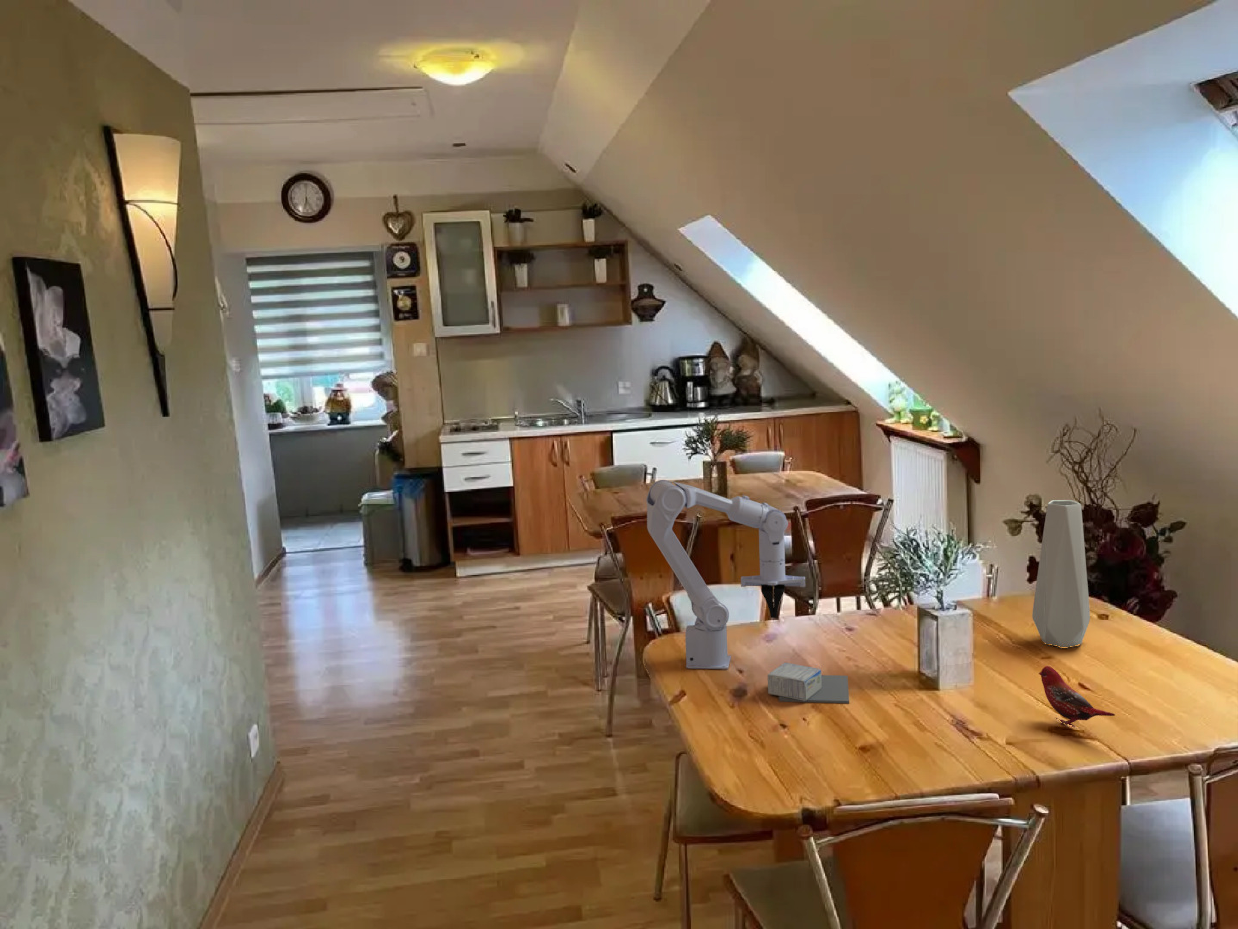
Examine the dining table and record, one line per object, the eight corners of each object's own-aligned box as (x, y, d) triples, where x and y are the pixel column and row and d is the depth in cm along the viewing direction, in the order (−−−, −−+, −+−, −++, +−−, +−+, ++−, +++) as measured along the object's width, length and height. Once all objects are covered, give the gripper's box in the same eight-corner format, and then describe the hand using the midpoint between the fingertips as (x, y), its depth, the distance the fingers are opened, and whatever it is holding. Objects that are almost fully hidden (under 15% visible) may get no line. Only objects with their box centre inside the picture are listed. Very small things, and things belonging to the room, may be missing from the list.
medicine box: (767, 693, 199) (805, 702, 194) (766, 673, 199) (805, 681, 193) (784, 681, 206) (822, 689, 200) (784, 661, 205) (821, 668, 200)
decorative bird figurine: (1044, 710, 185) (1044, 661, 184) (1120, 746, 169) (1121, 692, 167) (1032, 713, 184) (1032, 663, 183) (1108, 750, 168) (1109, 695, 166)
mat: (778, 701, 196) (778, 699, 196) (781, 676, 210) (781, 674, 210) (849, 703, 193) (849, 701, 193) (847, 677, 207) (847, 675, 207)
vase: (1038, 631, 229) (1039, 496, 225) (1091, 639, 223) (1094, 499, 218) (1025, 647, 220) (1027, 505, 215) (1081, 655, 213) (1083, 509, 208)
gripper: (738, 563, 217) (740, 621, 219) (804, 563, 214) (805, 622, 216) (741, 555, 224) (743, 612, 226) (804, 555, 221) (806, 612, 223)
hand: (773, 616), depth 222 cm, fingers closed
